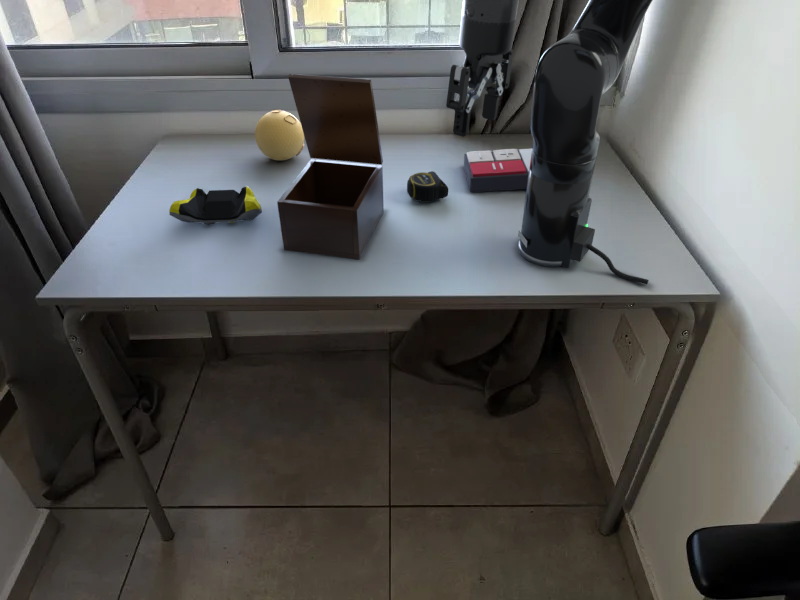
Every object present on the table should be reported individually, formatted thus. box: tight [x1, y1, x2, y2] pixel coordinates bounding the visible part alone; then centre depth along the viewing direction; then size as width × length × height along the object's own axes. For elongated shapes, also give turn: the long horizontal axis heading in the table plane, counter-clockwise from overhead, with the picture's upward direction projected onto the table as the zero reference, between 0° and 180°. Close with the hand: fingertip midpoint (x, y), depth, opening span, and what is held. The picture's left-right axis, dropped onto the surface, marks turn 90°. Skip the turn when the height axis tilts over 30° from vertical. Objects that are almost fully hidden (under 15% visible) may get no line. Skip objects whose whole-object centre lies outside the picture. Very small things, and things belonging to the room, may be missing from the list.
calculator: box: [463, 148, 532, 193], centre depth 120 cm, size 11×4×15 cm
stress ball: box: [254, 109, 305, 161], centre depth 126 cm, size 10×10×10 cm
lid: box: [287, 73, 384, 166], centre depth 99 cm, size 17×13×1 cm
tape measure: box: [406, 170, 449, 203], centre depth 114 cm, size 7×7×4 cm
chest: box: [276, 158, 385, 260], centre depth 103 cm, size 16×13×9 cm
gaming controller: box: [169, 185, 263, 226], centre depth 107 cm, size 15×6×10 cm
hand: (475, 126), depth 95 cm, fingers open, 8 cm apart
